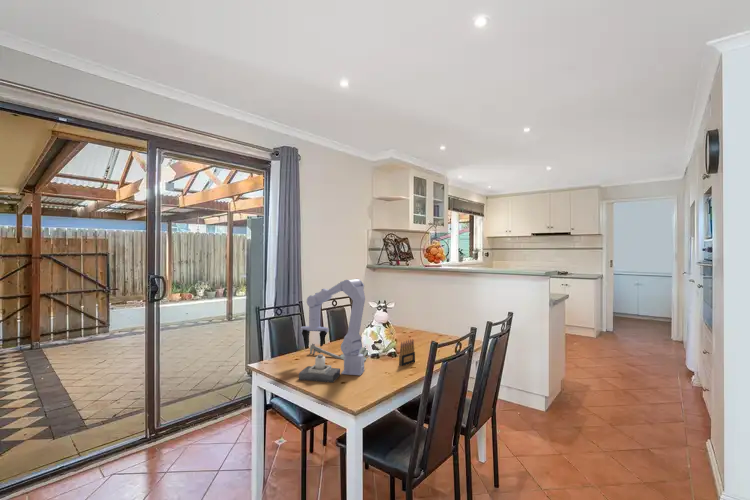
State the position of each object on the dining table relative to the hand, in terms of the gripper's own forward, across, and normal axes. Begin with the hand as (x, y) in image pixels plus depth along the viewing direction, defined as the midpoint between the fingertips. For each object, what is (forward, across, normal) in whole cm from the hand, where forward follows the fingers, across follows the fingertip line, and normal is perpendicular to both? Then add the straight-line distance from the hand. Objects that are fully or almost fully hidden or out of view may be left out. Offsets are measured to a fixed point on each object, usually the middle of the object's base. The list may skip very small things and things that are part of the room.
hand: (314, 345), depth 182 cm
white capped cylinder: (+6, -10, +18) cm, 21 cm away
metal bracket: (+10, -18, -17) cm, 26 cm away
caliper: (+10, 0, -14) cm, 18 cm away
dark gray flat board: (+9, -10, +18) cm, 23 cm away
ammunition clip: (+10, -46, -12) cm, 49 cm away
